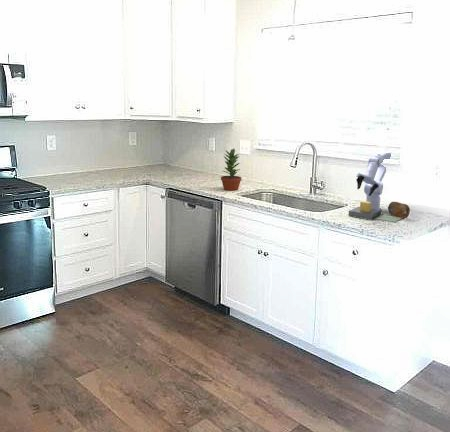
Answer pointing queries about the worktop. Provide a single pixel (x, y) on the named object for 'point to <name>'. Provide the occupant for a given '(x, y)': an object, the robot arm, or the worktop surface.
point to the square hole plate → (365, 213)
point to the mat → (388, 218)
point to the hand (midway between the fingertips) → (364, 191)
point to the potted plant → (231, 173)
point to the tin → (399, 210)
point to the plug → (365, 206)
